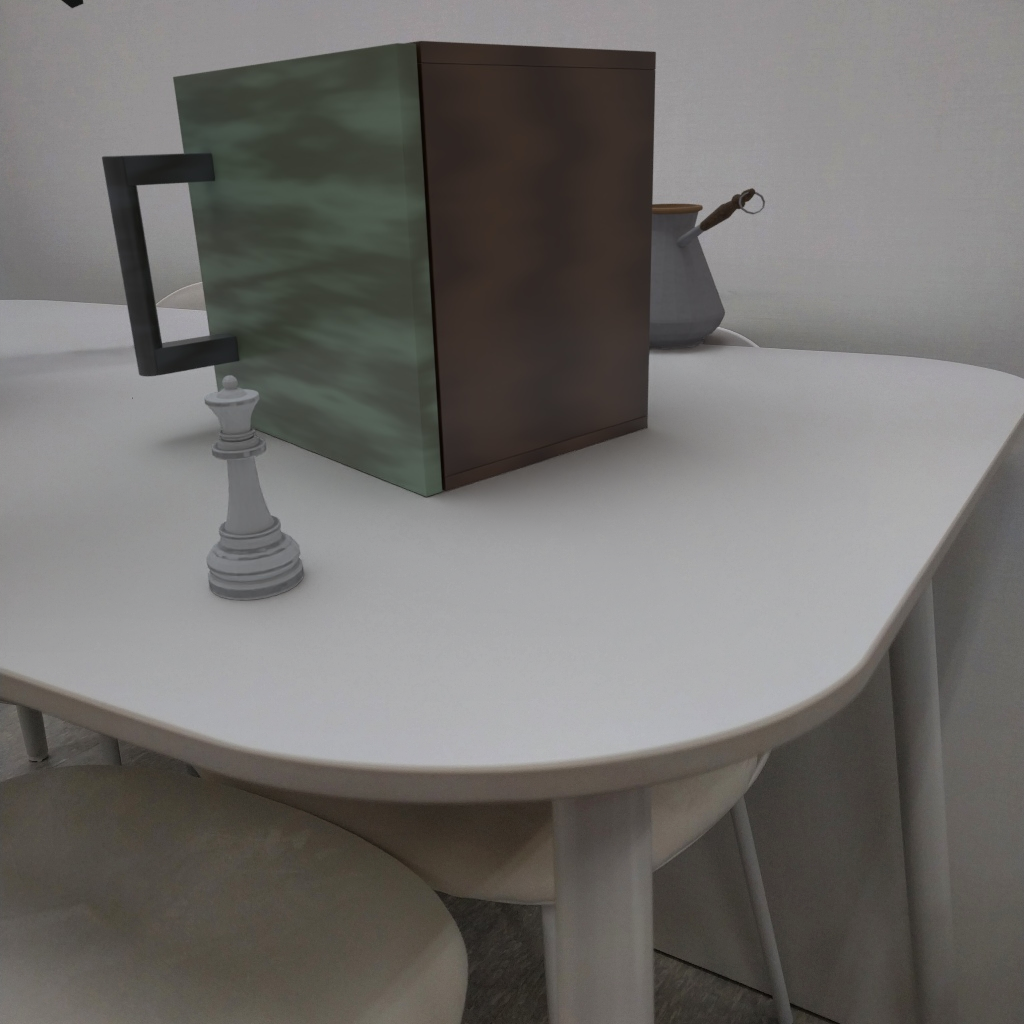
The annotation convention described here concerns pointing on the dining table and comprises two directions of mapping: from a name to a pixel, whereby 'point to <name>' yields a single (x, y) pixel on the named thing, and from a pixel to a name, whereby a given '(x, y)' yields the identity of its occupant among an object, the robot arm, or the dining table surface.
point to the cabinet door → (303, 253)
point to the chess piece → (247, 510)
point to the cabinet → (536, 248)
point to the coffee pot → (685, 274)
